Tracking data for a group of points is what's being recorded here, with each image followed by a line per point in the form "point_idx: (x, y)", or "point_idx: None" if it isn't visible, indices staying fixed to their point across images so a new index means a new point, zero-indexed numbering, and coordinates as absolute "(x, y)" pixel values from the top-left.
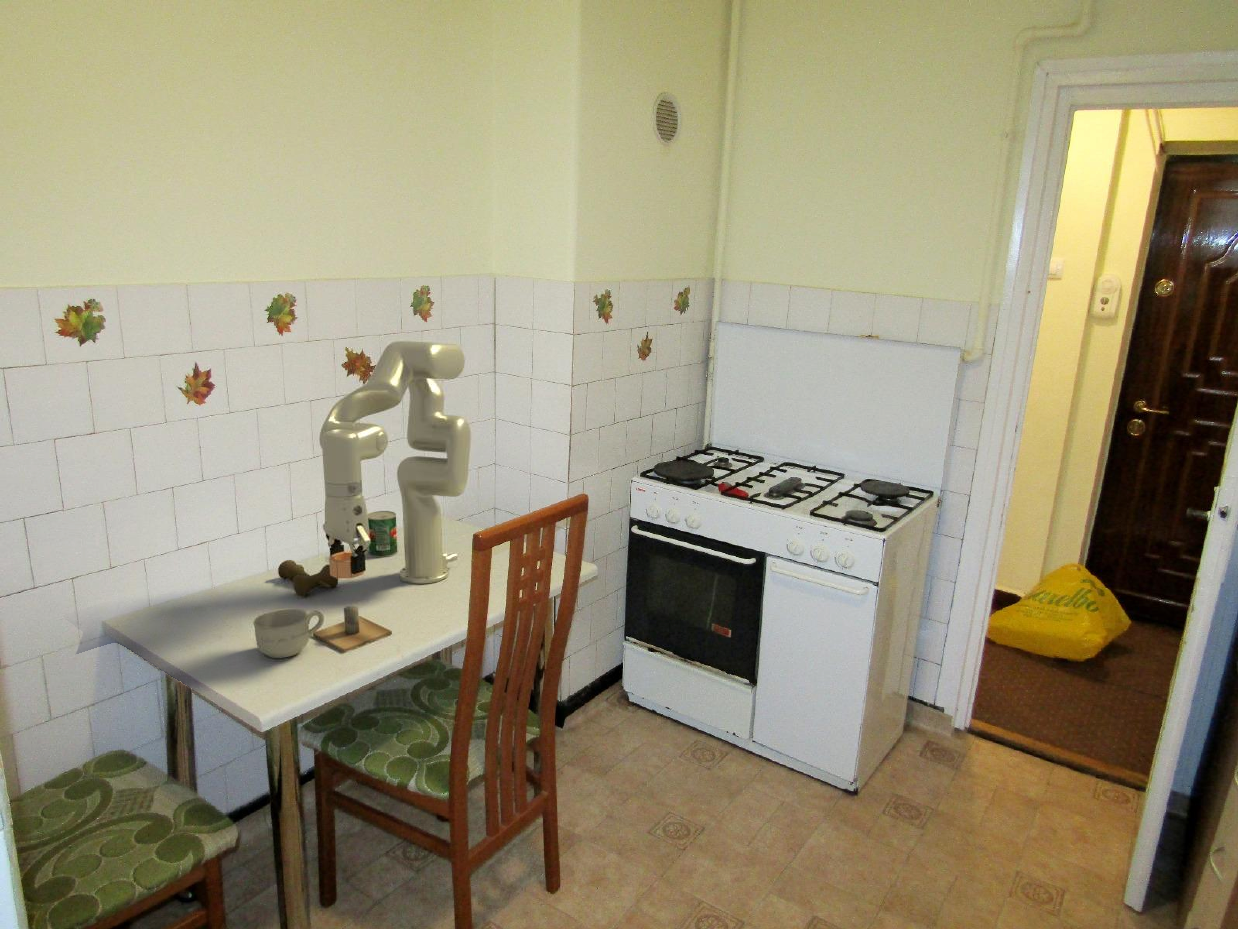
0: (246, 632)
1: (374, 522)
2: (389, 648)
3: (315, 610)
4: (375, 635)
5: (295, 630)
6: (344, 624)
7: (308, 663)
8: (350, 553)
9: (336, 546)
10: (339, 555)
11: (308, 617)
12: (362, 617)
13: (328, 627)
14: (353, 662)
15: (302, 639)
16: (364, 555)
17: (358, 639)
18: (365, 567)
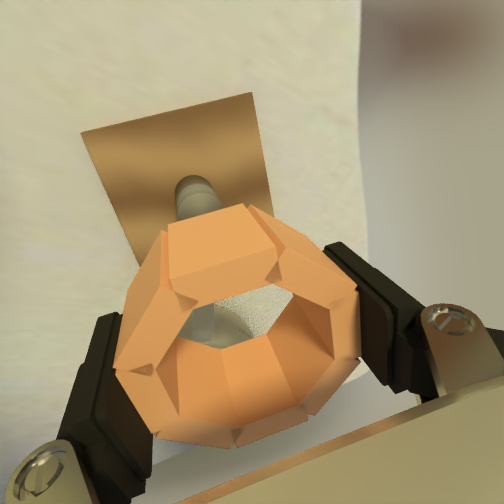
0: (48, 388)
1: None
2: (319, 137)
3: (198, 325)
4: (252, 147)
5: None
6: (129, 197)
7: (274, 303)
8: (175, 330)
9: (121, 468)
10: (171, 393)
11: (213, 337)
12: (97, 129)
13: (130, 240)
14: (326, 231)
15: (250, 332)
16: (402, 294)
17: (248, 195)
18: (347, 247)
